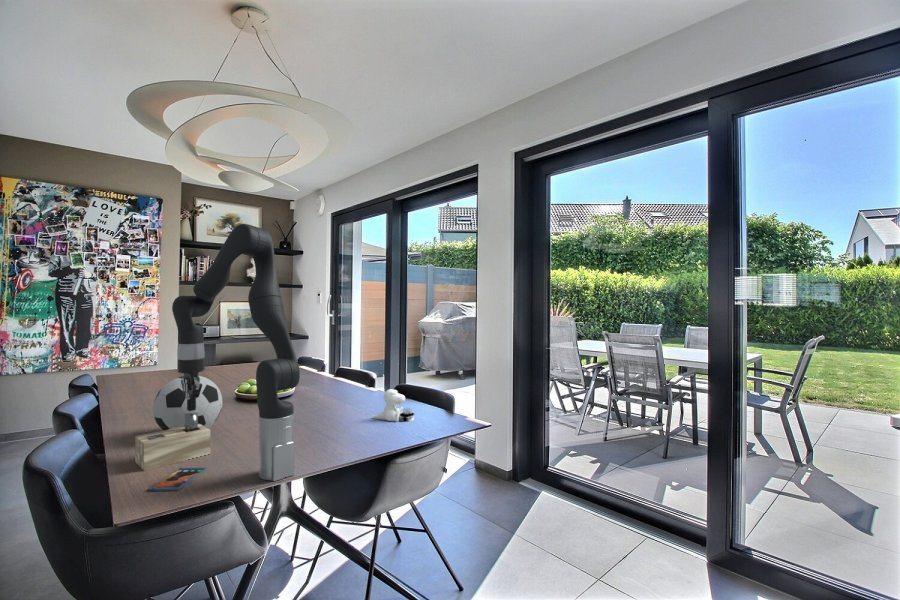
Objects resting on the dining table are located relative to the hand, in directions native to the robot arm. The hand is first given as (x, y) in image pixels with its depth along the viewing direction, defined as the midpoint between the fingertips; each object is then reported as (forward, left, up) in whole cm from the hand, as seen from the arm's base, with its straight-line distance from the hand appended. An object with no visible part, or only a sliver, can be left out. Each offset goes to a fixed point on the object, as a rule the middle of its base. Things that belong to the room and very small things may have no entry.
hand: (191, 410), depth 141 cm
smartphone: (-19, +9, -15) cm, 26 cm away
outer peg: (0, +10, -13) cm, 17 cm away
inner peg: (0, 0, -8) cm, 8 cm away
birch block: (0, +5, -14) cm, 15 cm away
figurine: (-18, -71, -15) cm, 74 cm away
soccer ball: (+22, -6, -14) cm, 27 cm away
